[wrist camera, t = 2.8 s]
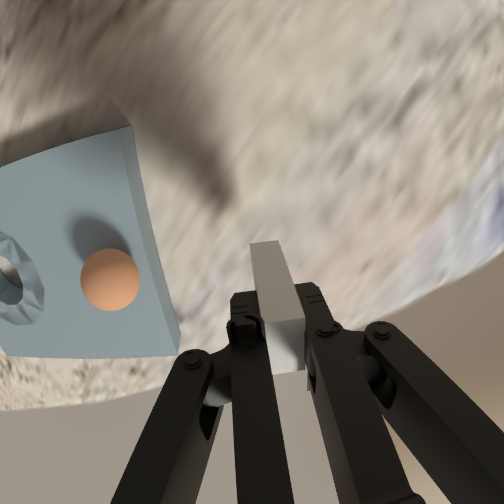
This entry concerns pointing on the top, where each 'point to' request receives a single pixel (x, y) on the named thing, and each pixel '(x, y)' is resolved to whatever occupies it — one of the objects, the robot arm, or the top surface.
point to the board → (79, 253)
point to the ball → (110, 279)
